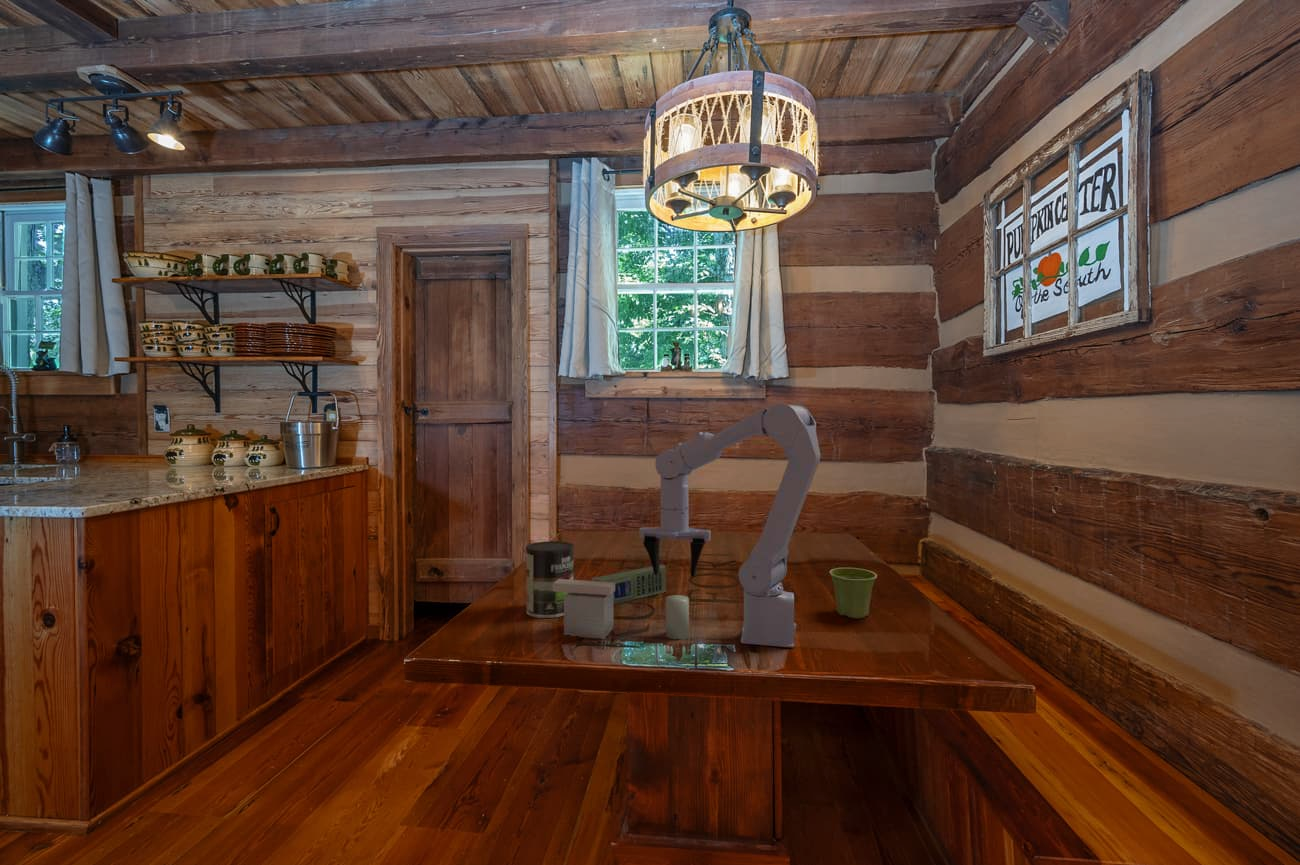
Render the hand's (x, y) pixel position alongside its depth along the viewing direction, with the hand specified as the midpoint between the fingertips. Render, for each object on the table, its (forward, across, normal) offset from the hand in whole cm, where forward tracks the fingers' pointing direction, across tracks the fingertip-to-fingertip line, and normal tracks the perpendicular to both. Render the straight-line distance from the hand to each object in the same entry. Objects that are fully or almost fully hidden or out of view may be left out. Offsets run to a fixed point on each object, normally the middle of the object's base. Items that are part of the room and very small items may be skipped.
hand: (674, 574), depth 115 cm
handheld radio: (+10, -14, +10) cm, 20 cm away
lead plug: (+9, +2, -8) cm, 13 cm away
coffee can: (+10, -27, 0) cm, 29 cm away
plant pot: (+10, +36, +12) cm, 39 cm away
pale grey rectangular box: (+2, -16, -10) cm, 19 cm away
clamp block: (+9, -15, -10) cm, 20 cm away
